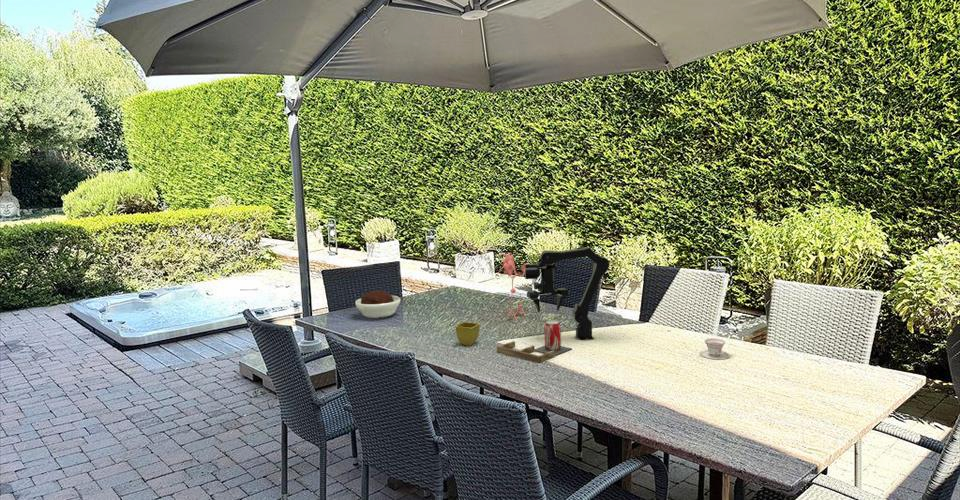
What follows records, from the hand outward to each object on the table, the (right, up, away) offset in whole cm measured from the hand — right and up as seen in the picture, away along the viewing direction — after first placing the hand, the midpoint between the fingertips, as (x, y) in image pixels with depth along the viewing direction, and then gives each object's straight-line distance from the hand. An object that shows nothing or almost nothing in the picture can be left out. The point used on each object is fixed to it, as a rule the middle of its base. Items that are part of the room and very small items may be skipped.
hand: (548, 311), depth 273 cm
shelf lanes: (-12, -16, -20) cm, 28 cm away
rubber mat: (0, -15, -16) cm, 22 cm away
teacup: (+65, -15, -31) cm, 73 cm away
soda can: (0, -15, -16) cm, 22 cm away
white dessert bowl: (-88, -9, +60) cm, 107 cm away
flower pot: (-37, -15, -1) cm, 40 cm away
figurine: (-15, -8, +46) cm, 49 cm away
